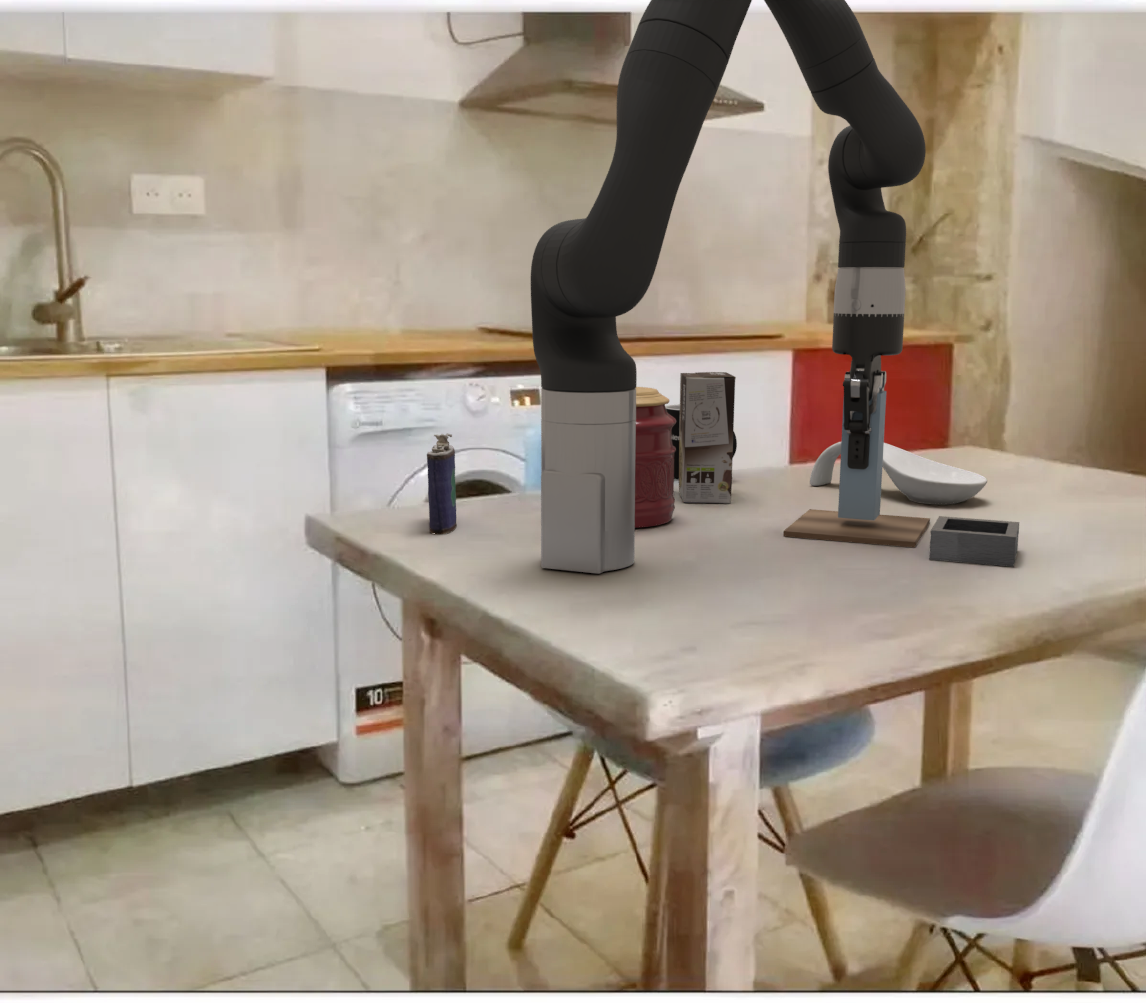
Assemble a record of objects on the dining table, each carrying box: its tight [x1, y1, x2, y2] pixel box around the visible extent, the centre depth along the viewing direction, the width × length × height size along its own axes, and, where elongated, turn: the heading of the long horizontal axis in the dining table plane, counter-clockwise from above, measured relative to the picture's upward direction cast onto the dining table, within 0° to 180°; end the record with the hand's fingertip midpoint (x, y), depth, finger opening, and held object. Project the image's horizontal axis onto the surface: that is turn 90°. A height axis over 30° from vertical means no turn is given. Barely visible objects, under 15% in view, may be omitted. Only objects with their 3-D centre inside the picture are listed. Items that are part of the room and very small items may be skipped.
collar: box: [928, 515, 1020, 568], centre depth 119 cm, size 8×8×3 cm
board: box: [782, 508, 931, 549], centre depth 131 cm, size 14×14×1 cm
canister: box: [635, 386, 676, 529], centre depth 135 cm, size 13×13×18 cm
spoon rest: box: [809, 441, 988, 505], centre depth 153 cm, size 24×12×7 cm, turn 48°
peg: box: [837, 390, 887, 520], centre depth 129 cm, size 4×4×14 cm
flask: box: [426, 433, 458, 535], centre depth 132 cm, size 9×3×11 cm, turn 1°
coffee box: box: [678, 371, 737, 504], centre depth 150 cm, size 9×6×16 cm
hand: (861, 464), depth 130 cm, fingers closed on peg, 4 cm apart
